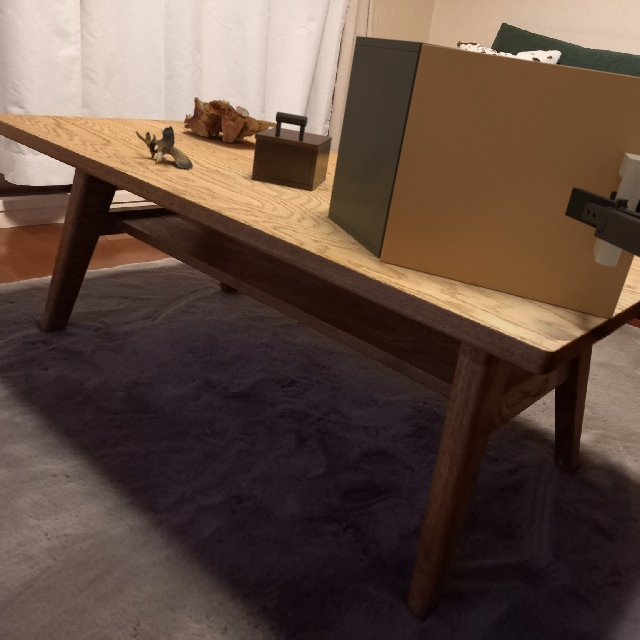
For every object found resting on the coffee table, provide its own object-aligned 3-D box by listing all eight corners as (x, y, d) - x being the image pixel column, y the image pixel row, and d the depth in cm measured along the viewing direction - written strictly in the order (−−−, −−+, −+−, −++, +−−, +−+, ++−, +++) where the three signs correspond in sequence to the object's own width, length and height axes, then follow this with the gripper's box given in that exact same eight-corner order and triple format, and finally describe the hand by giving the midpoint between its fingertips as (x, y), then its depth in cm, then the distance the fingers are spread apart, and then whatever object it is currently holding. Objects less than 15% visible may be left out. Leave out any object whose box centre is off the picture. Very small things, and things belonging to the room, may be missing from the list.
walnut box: (312, 191, 107) (318, 149, 104) (251, 179, 108) (255, 138, 105) (325, 179, 118) (331, 141, 116) (270, 168, 119) (274, 131, 117)
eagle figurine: (127, 152, 107) (167, 153, 102) (140, 115, 108) (181, 114, 104) (156, 175, 113) (195, 176, 109) (169, 139, 115) (208, 139, 110)
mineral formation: (283, 148, 137) (291, 104, 137) (218, 121, 126) (227, 73, 127) (227, 160, 154) (235, 121, 155) (167, 137, 144) (175, 95, 144)
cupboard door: (615, 339, 63) (707, 85, 54) (365, 274, 70) (409, 39, 61) (611, 316, 69) (693, 85, 60) (381, 259, 76) (424, 44, 67)
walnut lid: (317, 150, 103) (321, 120, 102) (254, 138, 105) (257, 109, 103) (331, 141, 116) (335, 115, 114) (275, 131, 117) (278, 105, 115)
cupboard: (553, 266, 85) (611, 76, 76) (377, 259, 76) (420, 42, 67) (480, 227, 101) (522, 65, 91) (327, 217, 91) (356, 35, 82)
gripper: (711, 346, 41) (507, 235, 61) (883, 344, 47) (645, 243, 67) (760, 233, 38) (529, 156, 58) (937, 245, 44) (671, 171, 64)
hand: (591, 203), depth 62 cm, fingers open, 4 cm apart
